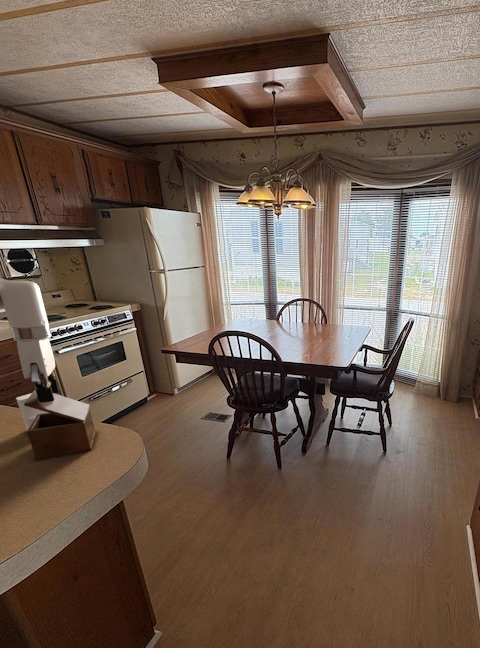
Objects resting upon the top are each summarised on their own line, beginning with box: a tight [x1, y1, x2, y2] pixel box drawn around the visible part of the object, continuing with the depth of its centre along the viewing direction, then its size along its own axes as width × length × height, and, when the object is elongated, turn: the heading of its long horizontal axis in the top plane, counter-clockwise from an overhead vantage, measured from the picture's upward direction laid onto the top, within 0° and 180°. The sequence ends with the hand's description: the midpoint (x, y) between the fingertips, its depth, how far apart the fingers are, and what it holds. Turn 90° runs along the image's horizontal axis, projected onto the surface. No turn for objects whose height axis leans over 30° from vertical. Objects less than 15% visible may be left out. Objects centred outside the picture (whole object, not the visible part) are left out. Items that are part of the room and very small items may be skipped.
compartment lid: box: [24, 380, 90, 423], centre depth 94 cm, size 13×11×5 cm
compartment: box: [26, 407, 97, 461], centre depth 98 cm, size 13×11×9 cm
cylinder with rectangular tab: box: [15, 392, 48, 431], centre depth 105 cm, size 9×9×12 cm
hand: (49, 396), depth 93 cm, fingers closed on compartment lid, 5 cm apart
